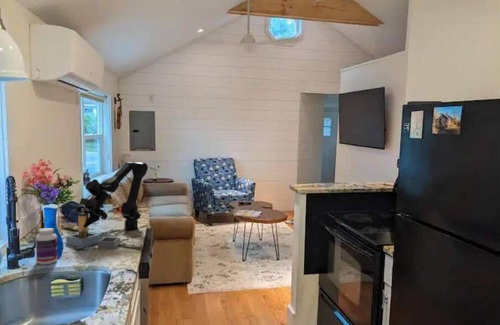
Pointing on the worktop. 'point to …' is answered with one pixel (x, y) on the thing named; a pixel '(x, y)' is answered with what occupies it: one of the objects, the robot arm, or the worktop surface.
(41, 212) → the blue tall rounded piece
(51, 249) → the pill bottle
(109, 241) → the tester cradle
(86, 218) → the jumbo cell
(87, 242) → the bin
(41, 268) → the worktop surface
